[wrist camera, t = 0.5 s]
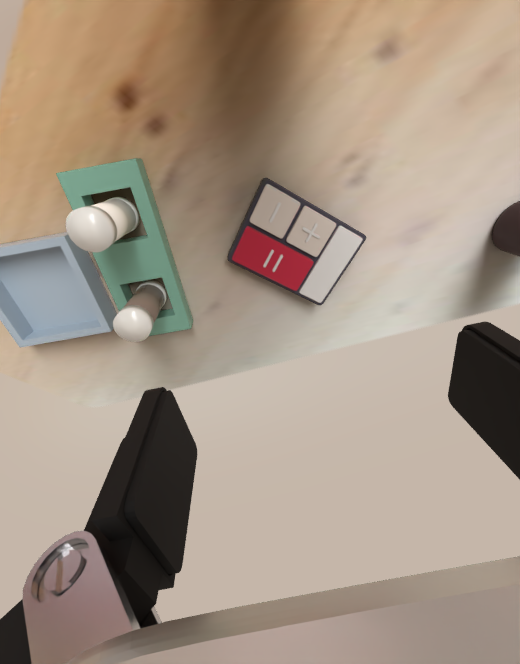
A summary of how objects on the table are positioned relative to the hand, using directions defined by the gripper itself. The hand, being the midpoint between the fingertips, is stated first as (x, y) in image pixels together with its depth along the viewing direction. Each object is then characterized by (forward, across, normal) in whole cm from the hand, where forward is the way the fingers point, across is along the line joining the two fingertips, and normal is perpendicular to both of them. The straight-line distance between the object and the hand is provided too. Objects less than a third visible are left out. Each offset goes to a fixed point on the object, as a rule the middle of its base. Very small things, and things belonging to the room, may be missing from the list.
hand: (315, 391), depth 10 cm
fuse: (+34, +16, -5) cm, 38 cm away
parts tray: (+34, +30, +2) cm, 45 cm away
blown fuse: (+34, +17, +6) cm, 38 cm away
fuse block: (+34, +16, +1) cm, 38 cm away
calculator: (+34, -5, +3) cm, 35 cm away
